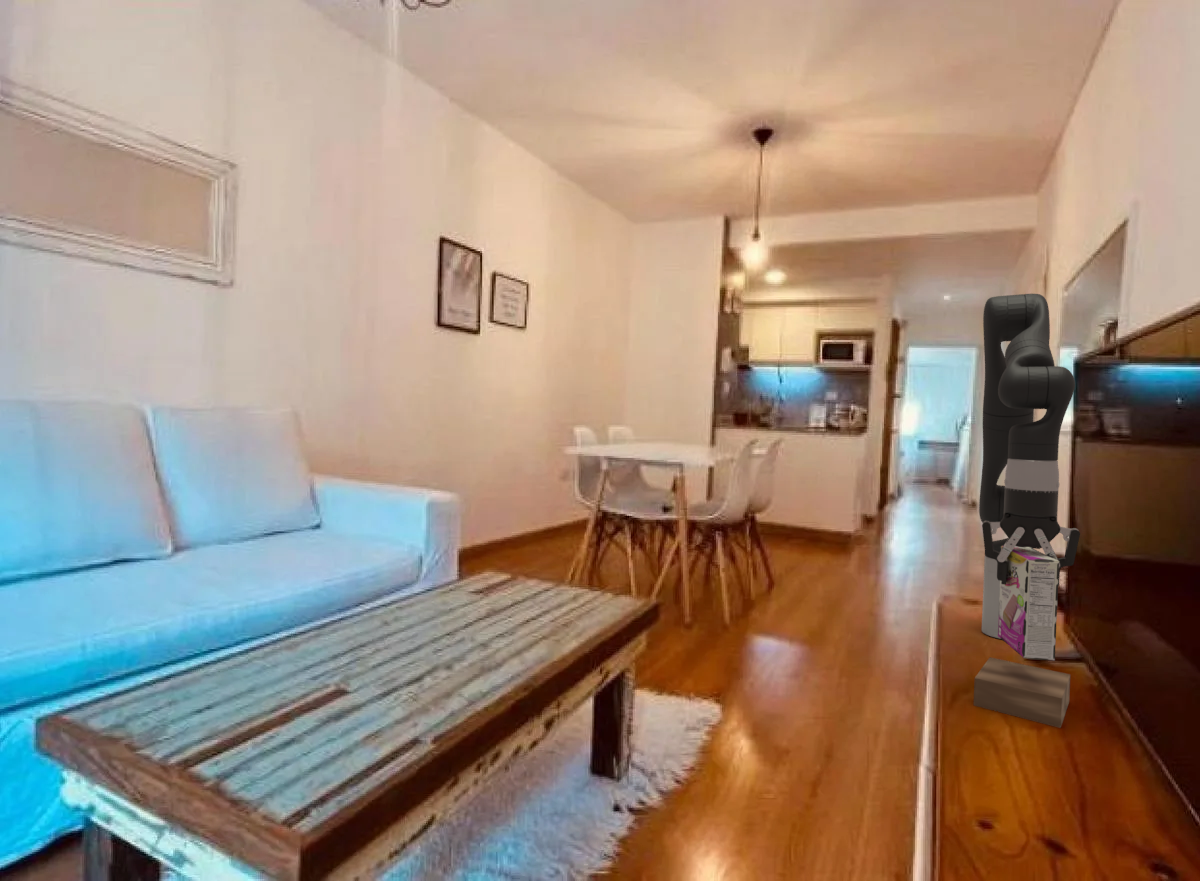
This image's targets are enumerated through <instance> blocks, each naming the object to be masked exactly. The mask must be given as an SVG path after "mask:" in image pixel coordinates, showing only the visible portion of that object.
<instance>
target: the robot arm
mask: <svg viewBox="0 0 1200 881" xmlns="http://www.w3.org/2000/svg"><path fill="white" fill-rule="evenodd" d="M983 308H984V309H983V318H982V319H983V320H982V324H983V325H982V326H983V350H984V389H983V403H982V404H983V405H982V468H981V478H980V479H981V480H980V489H979V500H978V512H979V519H980V521H981V522H982V525H981V526H982V528H981V529H982V537H983V538H982V539H983V544H984V546H983V547H984V564H983V566H984V567H983V587H982V588H983V590H982V614H981V632H982V633H983V634H985V635H986V636H990V637H992V638H996V639H1000V640H1002V639H1001V638H1000V637H998V622H999V596H1000V581H1001V584H1004V585H1006V577H1007V561H1006V558H1007V557H1008V555H1009V554H1010V553H1011V551H1012V550H1013V548H1014V547H1015V546H1018V547H1031V548H1033V549H1035V550H1040V549H1042V550H1043V552H1044V554H1045V555H1046V556H1050V557H1052V558H1054V559H1056V560H1058V561H1059V574H1058V587H1059V586H1060V575H1061V574H1060V571H1061V569H1062V568H1064V567H1071V566H1072V567H1073V565H1074V564H1075V559H1076V556H1077V555H1076V554H1077V550H1078V546H1079V541H1080V535H1081V532H1080V531H1079V529H1078V528H1076V527H1073V528H1069V527H1063V526H1060V523H1059V522H1058V509H1059V508H1058V507H1059V506H1058V505H1059V488H1060V470H1059V469H1060V468H1059V447H1060V446H1059V444H1060V434H1061V429H1062V425H1063V421H1064V418H1065V415H1066V413H1067V410H1068V408H1069V405H1070V403H1071V401H1072V398H1073V395H1074V392H1075V390H1076V388H1075V387H1076V380H1075V376H1074V375H1073V374H1072V372H1071V371H1070V370H1069V369H1068V368H1067V367H1065V366H1058V365H1057V366H1055V361H1054V357H1053V353H1052V350H1051V347H1050V339H1051V338H1050V336H1051V331H1050V330H1051V326H1050V325H1051V324H1050V321H1051V320H1050V309H1049V305H1048V301H1047V299H1046V297H1045V296H1044V295H1042V294H1039V293H1022V294H1021V293H1020V294H1008V295H1007V294H1006V295H998V296H991V297H989V298H987V300H986V301H985V304H984V307H983ZM1002 342H1009V343H1008V344H1007V346H1006V350H1005V353H1003V349H1002ZM1035 410H1046V411H1045V413H1044V415H1043V417H1042V418H1040V419H1038V420H1036V421H1035V420H1034V415H1035V414H1034V411H1035ZM1004 470H1005V477H1004V482H1003V483H1004V485H999V484H998V481H999V479H1000V477H1001V475H1002V473H1003V471H1004ZM1000 528H1001V530H1002V532H1003V533H1004V534H1005V535H1006V538H1003V539H997V540H993V535H995V534H997V530H999V529H1000ZM1059 534H1062V538H1063V540H1064V541H1065V542H1067V543H1066V548H1065V552H1064V556H1063V557H1058V556H1057V554H1056V552H1055V551H1054V549H1053V548H1054V547H1053V546H1052V544H1051V543H1050V542H1051V541H1053V540H1054V539H1055V538H1056V537H1057V536H1058V535H1059ZM1001 546H1003V548H1002V549H1001Z"/></svg>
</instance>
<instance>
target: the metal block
mask: <svg viewBox="0 0 1200 881" xmlns="http://www.w3.org/2000/svg"><path fill="white" fill-rule="evenodd" d="M973 687H974V688H973V689H974V690H973V706H974V707H979V708H983V709H986V710H990V711H993V710H994V712H997V711H998V713H1002V714H1005V715H1010V716H1014V717H1017V718H1021V719H1024V720H1028V721H1033V722H1036V723H1040V724H1044V725H1046V726H1052V727H1056V728H1059V729H1061V728H1062V725H1063V722H1064V720H1065V716H1066V712H1067V709H1068V706H1069V704H1070V691H1071V690H1070V689H1071V674H1070V673H1065V672H1061V671H1056V670H1053V669H1052V670H1051V669H1048V668H1047V669H1046V668H1042V667H1037V666H1032V665H1028V664H1024V663H1019V662H1015V661H1010V660H1004V659H1000V658H996V657H989V658H988V659H987V660H986V662H985V663H984V664H983V666H982V667H981V669H980V670H979V672H978V673H977V674H976V675H975V677H974V686H973Z"/></svg>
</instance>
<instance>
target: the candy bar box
mask: <svg viewBox="0 0 1200 881" xmlns="http://www.w3.org/2000/svg"><path fill="white" fill-rule="evenodd" d="M1002 548H1003V546H1001V549H1002ZM1006 561H1007V577H1006V585H1004V584H1001V581H1000V596H999V622H998V637H1000V638H1001V639H1000V640H1002V641H1003V642H1004V643H1005V644H1007V645H1008V646H1009V647H1010V648H1011V649H1013V650H1014V651H1015V652H1016V653H1017V654H1019V656H1020V657H1022V658H1023V659H1028V660H1038V661H1052V662H1053V661H1056V659H1055V658H1056V645H1057V644H1056V640H1057V618H1058V596H1059V586H1058V574H1059V561H1058V560H1056V559H1054V558H1052V557H1050V556H1046V554H1045V553H1043V552H1041V551H1039V550H1038V549H1035V548H1031V547H1018V546H1015V547H1014V548H1013V550H1012V551H1011V553H1010V554H1009V555H1008V557H1007V558H1006Z"/></svg>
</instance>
